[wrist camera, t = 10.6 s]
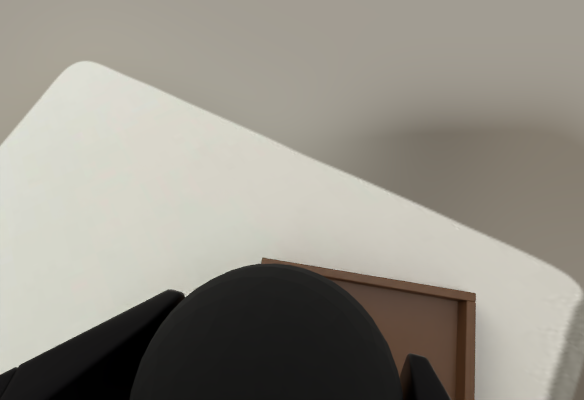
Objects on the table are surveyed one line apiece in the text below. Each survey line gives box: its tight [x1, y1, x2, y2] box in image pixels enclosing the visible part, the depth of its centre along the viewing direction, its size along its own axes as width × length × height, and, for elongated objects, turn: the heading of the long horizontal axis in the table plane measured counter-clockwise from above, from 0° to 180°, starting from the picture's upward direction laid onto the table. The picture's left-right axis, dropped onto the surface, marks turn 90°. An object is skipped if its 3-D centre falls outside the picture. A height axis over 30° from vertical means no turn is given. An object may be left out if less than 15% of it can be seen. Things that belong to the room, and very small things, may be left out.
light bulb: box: [130, 263, 403, 400], centre depth 9 cm, size 6×6×10 cm
